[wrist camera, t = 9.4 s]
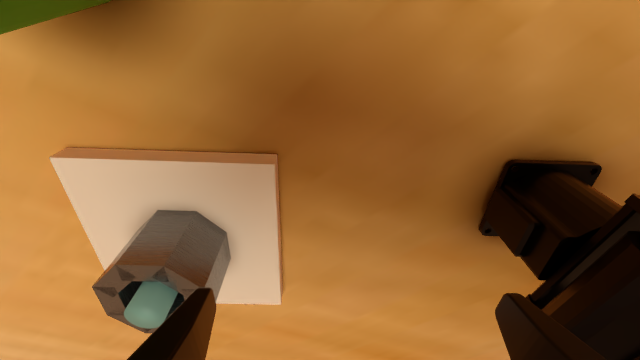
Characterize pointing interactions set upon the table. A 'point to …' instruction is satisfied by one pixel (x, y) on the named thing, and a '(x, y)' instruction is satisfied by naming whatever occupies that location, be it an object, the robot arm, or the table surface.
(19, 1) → the cup
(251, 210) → the post block
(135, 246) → the steel collar
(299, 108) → the table surface
